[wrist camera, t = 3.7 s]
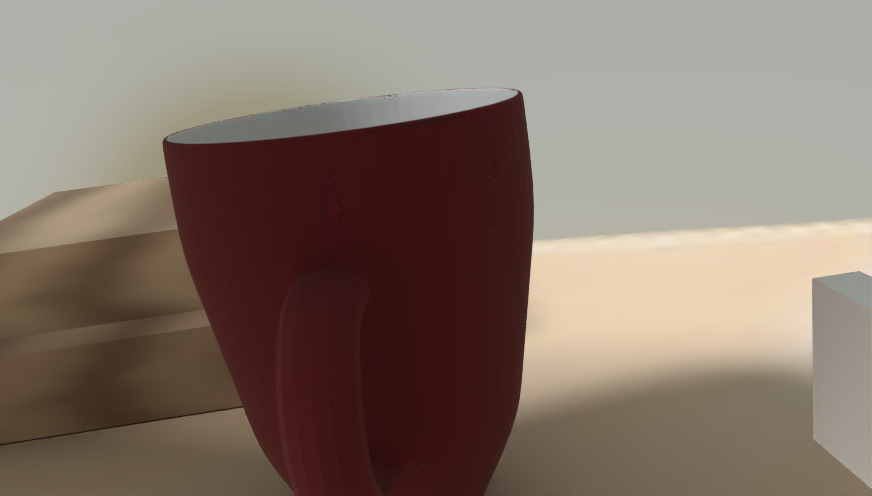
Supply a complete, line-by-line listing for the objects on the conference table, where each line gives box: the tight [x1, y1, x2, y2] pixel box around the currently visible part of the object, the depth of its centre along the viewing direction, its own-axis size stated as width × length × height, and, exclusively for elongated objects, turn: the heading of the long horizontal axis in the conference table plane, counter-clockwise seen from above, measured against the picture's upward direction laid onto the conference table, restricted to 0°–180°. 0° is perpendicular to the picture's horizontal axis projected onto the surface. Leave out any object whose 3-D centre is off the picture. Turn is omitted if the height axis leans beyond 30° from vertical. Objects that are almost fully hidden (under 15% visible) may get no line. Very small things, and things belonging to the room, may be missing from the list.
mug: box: [163, 88, 534, 496], centre depth 19 cm, size 10×8×10 cm
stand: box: [0, 177, 243, 444], centre depth 36 cm, size 18×18×6 cm
